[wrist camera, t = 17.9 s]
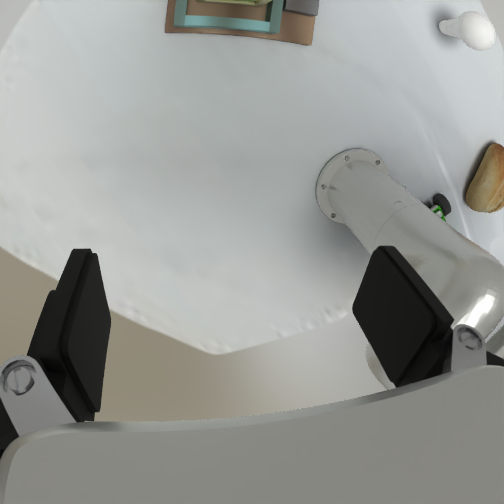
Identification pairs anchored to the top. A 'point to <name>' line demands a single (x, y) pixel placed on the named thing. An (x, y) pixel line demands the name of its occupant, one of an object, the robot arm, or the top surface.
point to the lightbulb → (470, 30)
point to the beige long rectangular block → (239, 2)
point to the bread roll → (488, 182)
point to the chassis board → (245, 19)
